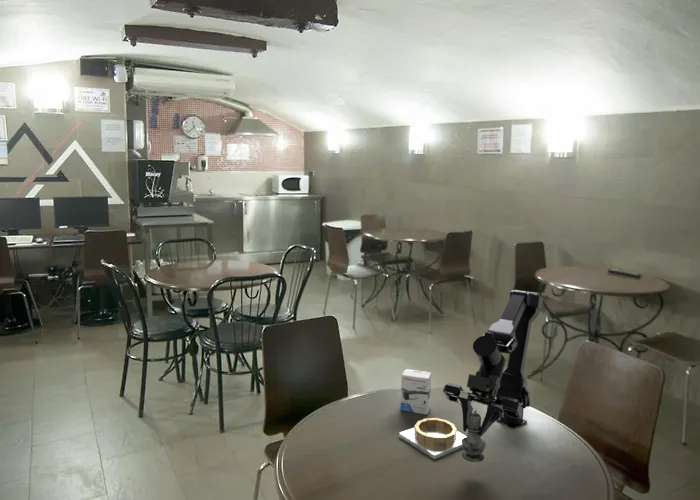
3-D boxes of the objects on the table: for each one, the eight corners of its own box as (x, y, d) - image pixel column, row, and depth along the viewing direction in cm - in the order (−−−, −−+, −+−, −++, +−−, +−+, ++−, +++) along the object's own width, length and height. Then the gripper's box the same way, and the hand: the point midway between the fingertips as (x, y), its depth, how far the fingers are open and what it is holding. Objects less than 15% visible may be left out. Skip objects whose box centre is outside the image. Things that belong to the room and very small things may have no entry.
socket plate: (435, 423, 160) (436, 411, 160) (472, 443, 149) (472, 431, 148) (398, 436, 152) (399, 424, 152) (434, 459, 141) (434, 446, 140)
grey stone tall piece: (486, 464, 131) (488, 417, 128) (461, 461, 132) (463, 414, 129) (484, 451, 136) (487, 405, 134) (460, 448, 137) (462, 403, 135)
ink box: (399, 411, 168) (400, 374, 166) (403, 404, 172) (404, 368, 170) (427, 415, 165) (428, 378, 163) (430, 408, 170) (431, 371, 168)
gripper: (447, 352, 138) (427, 410, 131) (521, 368, 128) (504, 432, 121) (457, 371, 146) (439, 427, 139) (529, 388, 136) (513, 449, 129)
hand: (472, 433), depth 132 cm, fingers closed on grey stone tall piece, 4 cm apart
